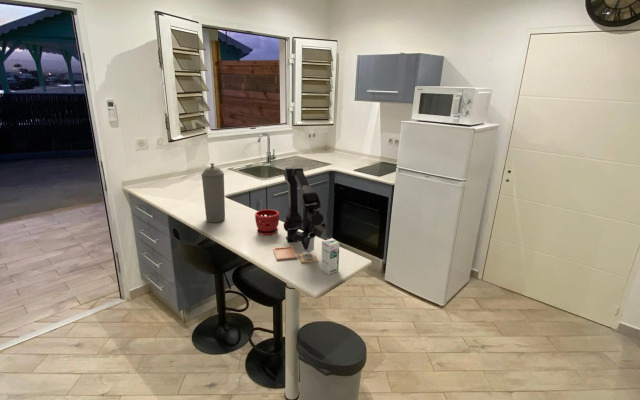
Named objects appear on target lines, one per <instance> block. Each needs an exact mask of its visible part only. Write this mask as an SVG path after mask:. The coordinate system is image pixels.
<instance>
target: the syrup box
mask: <svg viewBox="0 0 640 400" xmlns="http://www.w3.org/2000/svg"><path fill="white" fill-rule="evenodd" d="M339 261H340V242H339V241H338V240H336V239H334V238H333V237H331V238H329V239H325V240H321V264H320V265H321V270H322V271H323V272H324V273H326V274H327V275H330V274H333V273H336V272H339V264H340V263H339Z"/></svg>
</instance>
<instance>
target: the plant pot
mask: <svg viewBox="0 0 640 400" xmlns="http://www.w3.org/2000/svg"><path fill="white" fill-rule="evenodd" d="M265 215H266V216H265ZM254 220H255V224H256V228H257V230H256V232H257V233H258V234H259V235H261V236H267V237H269V236H274V235H275V234H277V233H278V232H279V228H278V226H279V222H280V212H279V211H278V210H276V209H261V210H259V211H256V212H255V213H254Z"/></svg>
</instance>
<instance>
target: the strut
mask: <svg viewBox="0 0 640 400" xmlns="http://www.w3.org/2000/svg"><path fill="white" fill-rule="evenodd" d="M309 238H311V239H310V240H308V247H307V250H305V249H304V247H303V245H302V244H301V245H302V249H301V250H302V252H303V253H310V252H311V253H313V251H314V250H315V238H314V236H310V235H309Z"/></svg>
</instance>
